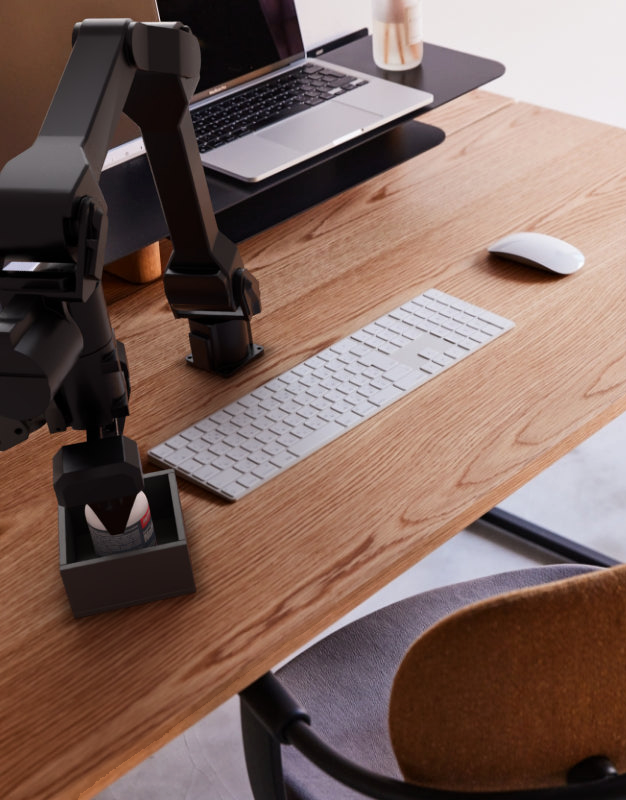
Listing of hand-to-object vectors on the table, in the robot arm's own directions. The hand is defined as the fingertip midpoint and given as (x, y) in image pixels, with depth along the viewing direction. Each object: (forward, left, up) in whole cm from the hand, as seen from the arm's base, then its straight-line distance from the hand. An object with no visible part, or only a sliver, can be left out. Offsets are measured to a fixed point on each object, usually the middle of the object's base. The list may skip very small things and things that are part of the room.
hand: (114, 497), depth 89 cm
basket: (0, 0, -8) cm, 8 cm away
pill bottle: (0, 0, -8) cm, 8 cm away
